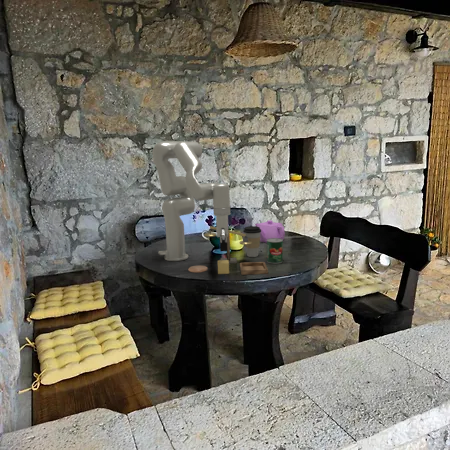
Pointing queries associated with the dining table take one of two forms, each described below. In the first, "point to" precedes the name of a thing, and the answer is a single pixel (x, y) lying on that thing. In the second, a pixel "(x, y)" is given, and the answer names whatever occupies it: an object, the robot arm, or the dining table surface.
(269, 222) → the teakettle
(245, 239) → the balance
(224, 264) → the ochre block
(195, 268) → the terracotta dish
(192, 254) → the dining table surface
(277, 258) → the canned tomato
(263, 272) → the walnut tray
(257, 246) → the coffee cup
